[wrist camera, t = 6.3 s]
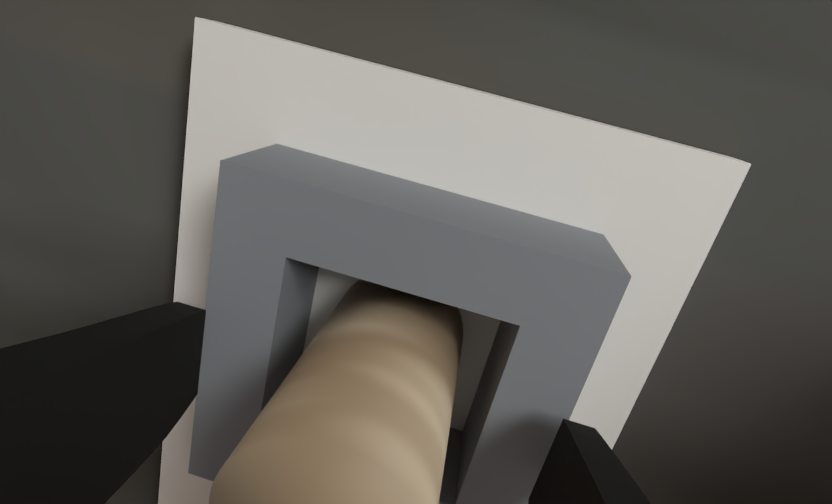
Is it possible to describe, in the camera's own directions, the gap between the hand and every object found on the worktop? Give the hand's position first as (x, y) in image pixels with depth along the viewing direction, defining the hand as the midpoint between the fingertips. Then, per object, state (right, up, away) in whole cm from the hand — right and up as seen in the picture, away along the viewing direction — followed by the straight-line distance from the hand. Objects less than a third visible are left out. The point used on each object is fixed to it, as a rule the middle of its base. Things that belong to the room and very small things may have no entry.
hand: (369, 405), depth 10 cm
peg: (0, +1, +3) cm, 3 cm away
